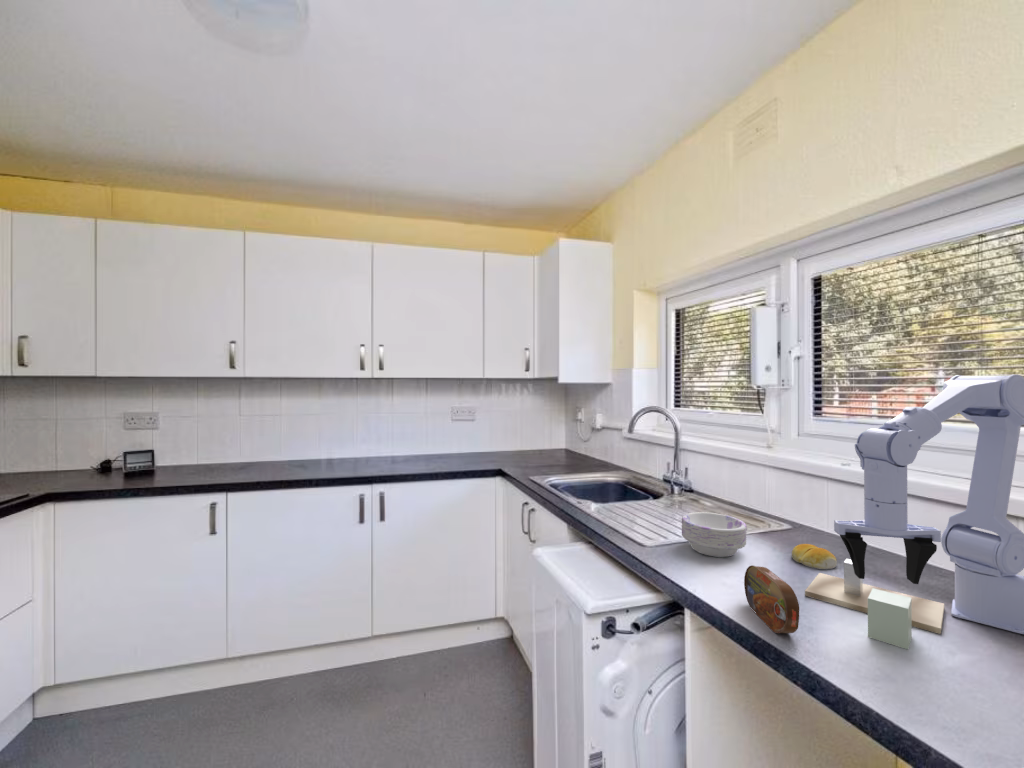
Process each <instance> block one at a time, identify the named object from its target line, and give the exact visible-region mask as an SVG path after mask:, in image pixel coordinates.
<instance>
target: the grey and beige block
mask: <svg viewBox="0 0 1024 768" xmlns="http://www.w3.org/2000/svg"><path fill="white" fill-rule="evenodd" d="M843 579H844V592H846V593H850V594H853V595H857V596H861V594H862V592H863V584H864V581H863V580H864V579H860V578H858V577H857V576H856V575H855V573H854V568H853V564H852V561H851V558H846V559H844V561H843Z"/></svg>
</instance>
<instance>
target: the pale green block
mask: <svg viewBox="0 0 1024 768" xmlns="http://www.w3.org/2000/svg"><path fill="white" fill-rule="evenodd" d="M912 629H913V626H912V598H910V597H906V596H902V595H898V594H894V593H890V592H886V591H882V590H878V589H874V588H872V591H871V593H870V595H869V597H868V613H867V638H871V639H873V640H876V641H880V642H883V643H886V644H889V645H893V646H896V647H899V648H902V649H905V650H910V646H911V640H912V635H913V633H912V632H913V630H912Z"/></svg>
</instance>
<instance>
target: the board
mask: <svg viewBox="0 0 1024 768" xmlns="http://www.w3.org/2000/svg"><path fill="white" fill-rule="evenodd" d="M872 588H874V589H878V590H882V591H886V592H890V593H894V594H898V595H902V596H906V597H910V598H912V627H914V628H918V629H920V630H924V631H925V630H926V631H929V632H932V633H936V634H938V635H941V634H942V629H943V621H944V614H945V613H944V612H945V603H944V602H943V603H942V602H939V601H934V600H931V599H927V598H923V597H920V596H916V595H911V594H908V593H907V594H906V593H902V592H899V591H894V590H890V589H886V588H884V587H879V586H874V585H871V584H870V585H869V584H866V583H863V592H862V594H861V596H857V595H853V594H850V593H846V592H844V577H838V576H834V575H830V574H826V573H821V572H818V574H817V575H816V576H815V578H814V579H813V580H812V582H811V583H810V584H809V585H808V586H807V588H806V589H805V590H804V596H805V597H808V598H812V599H816V600H819V601H822V602H827V603H830V604H833V605H836V606H840V607H843V608H846V609H851V610H855V611H857V612H861V613H865V614H868V597H869V595H870V593H871V591H872Z"/></svg>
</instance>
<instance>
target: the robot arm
mask: <svg viewBox="0 0 1024 768" xmlns="http://www.w3.org/2000/svg"><path fill="white" fill-rule="evenodd" d="M901 410H902V412H901V413H900V414H898V415H897V416H894V418H892V419H890V420H887V421H885V422H884V423H883V424H882V426H881V425H880V426H879V427H878V428H874V427H873V428H872V427H871V428H868V429H865V430H864V431H863V432H861V433H860V434H859V435H858V437H857V440H856V443H855V444H854V449H855V453H856V454H857V456H858V458H859V460H860V463H859V464H860V467H861V470H863V475H864V476H863V485H864V486H863V487H864V488H863V489H864V491H863V494H864V497H863V499H864V501H863V505H864V507H863V508H864V510H863V511H864V512H863V513H864V515H863V516H864V519H861V520H860V519H858V520H857V519H856V520H855V519H854V520H833V521H834V522H833V532H834V533H836V534H838V535H839V536H840V538H841V540H842V542H843V544H844V545H845V549H847V552H848V555H849V559H851V561H852V564H853V568H854V573H855V575H856V576H857V577H858V578H860V579H863V580H865V577H866V570H865V569H866V567H865V566H866V565H865V558H866V551H867V547H868V543H867V542H866V541H864V536H870V537H881V538H898V539H903V542H904V549H905V557H906V562H905V563H906V566H905V567H906V568H905V573H906V579H907V580H908V581H910V582H911V583H912V584H913V585H919V583H920V580H921V576H922V574H923V571H924V569H925V568H926V565H927V563H928V561H929V560H930V559H932V556H933V555H935V553H936V552H937V549H938V545H937V544H936V543H940V544H941V547H942V549H943V552H944V553H945V555H947V556H949V562H952V563H953V564H954V598H953V599H952V602H951V610H950V614H951V616H953V617H955V618H959V619H963V620H967V621H970V622H974V623H977V624H978V623H979V624H982V625H985V626H989V627H993V628H997V629H1001V630H1006V631H1009V632H1013V633H1015V634H1016V633H1017V634H1019V635H1024V575H1022V574H1021V575H1020V573H1021V572H1022V571H1023V570H1024V532H1023V531H1022V530H1021V529H1019V528H1018V527H1017V526H1016V525H1014V524H1013V523H1012V522H1011V521H1010V520H1009V519H1008V518H1007V516H1008V509H1009V502H1010V496H1011V491H1012V483H1013V477H1014V473H1015V472H1014V471H1015V464H1016V459H1017V452H1018V446H1019V439H1020V434H1021V428H1022V426H1024V376H1023V375H1020V374H1010V375H961V374H960V375H959V374H957V375H954V376H952V377H950V379H948V380H946V381H944V383H943V386H942V391H941V392H940V393H938V394H937V395H936V396H935V397H933V398H932V399H931V400H930V401H928V402H927V403H926V404H925V405H924V406H923V407H918V406H906V407H904V408H903V409H901ZM957 414H960V415H961V416H962V417H964V418H965V419H966V420H968V421H971V422H973V423H974V424H975V425H976V426H977V427H978V434H977V440H976V447H975V451H974V452H975V454H974V460H973V465H972V471H971V479H970V484H969V489H968V496H967V502H966V509H964V510H963V511H960V512H958V513H956V514H953V515H950V516H949V518H948V522H947V525H946V527H945V529H944V530H943V532H942V531H941V529H939V528H936V527H934V526H927V525H918V524H917V525H916V524H911V523H908V466H909V465H910V464H913V463H914V462H915V460H916V458H917V455H918V452H919V451H920V450H921V449H922V446H923V445H924V444H926V443H927V442H929V441H930V440H931V439H932V438H934V437H936V436H937V435H939V434H940V433H941V431H942V430H943V429H942V427H943V425H942V423H943V422H945V421H947V420H949V419H951V418H952V417H954V416H956V415H957ZM974 528H975V529H974ZM976 528H977V529H976ZM978 529H981V530H978ZM983 530H985V531H983ZM986 531H989V532H986ZM991 532H993V533H995V534H993V533H991Z"/></svg>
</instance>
